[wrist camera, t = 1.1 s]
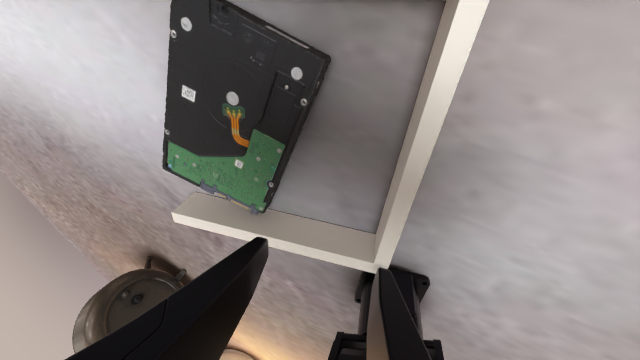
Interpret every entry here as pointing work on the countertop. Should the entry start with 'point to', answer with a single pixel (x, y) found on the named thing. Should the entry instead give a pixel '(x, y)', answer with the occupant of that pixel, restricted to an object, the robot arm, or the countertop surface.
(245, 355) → the lidded bowl
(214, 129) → the disk drive
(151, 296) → the alarm clock
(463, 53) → the beige bent panel frame
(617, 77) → the countertop surface
